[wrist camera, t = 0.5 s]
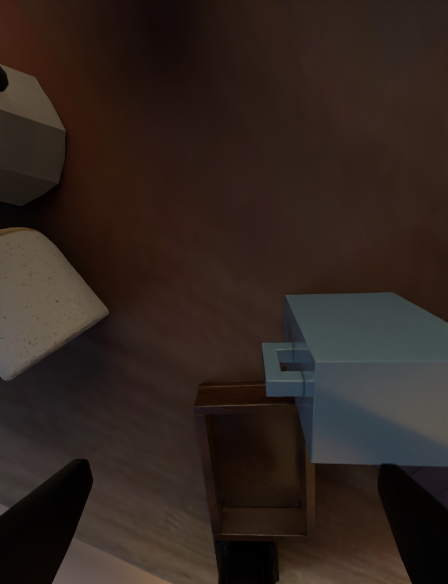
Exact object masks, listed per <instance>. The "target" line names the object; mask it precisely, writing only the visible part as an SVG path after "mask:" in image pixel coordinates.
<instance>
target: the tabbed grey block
mask: <svg viewBox="0 0 448 584" xmlns="http://www.w3.org/2000/svg"><path fill="white" fill-rule="evenodd" d="M262 360H263V370H264V379H265V389H266V396H267V397H283V396H294V398H295V402H296V406H297V410H298V414H299V418H300V422H301V425H302V429H303V433H304V437H305V441H306V445H307V449H308V453H309V457H310V461H311V463H322V464H359V465H380V464H381V463H394V464H396V465H398V466H433V467H448V323H447V322H446V321H444V320H442V319H440V318H438V317H436V316H435V315H433V314H431V313H429V312H427V311H426V310H424V309H422V308H420V307H418V306H417V305H415V304H413V303H411V302H409V301H408V300H406V299H404V298H402V297H400V296H399V295H397V294H395V293H393V292H382V293H344V294H305V295H285V343H262ZM279 362H285V363H286V367H287V371H281V368H280V364H279Z"/></svg>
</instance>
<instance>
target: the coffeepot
mask: <svg viewBox="0 0 448 584" xmlns="http://www.w3.org/2000/svg"><path fill="white" fill-rule="evenodd" d="M65 135H66V130H65V128H64V126H63V124H62V122H61V120H60V118H59V116H58V114H57V112H56V110H55V107H54V106H53V104H52V103H51V101H50V100H49V98H48V97H47V95H46V94H45V93H44V92H43V90H42V88H41V86H40V85H39V83H38V81H37V79H36V78H35V77H32V76H30V75H27V74H25V73H22V72H19V71H17V70H14V69H11V68H9V67H6V66H4V65H1V64H0V201H1V202H5V203H9V204H14V205H18V206H23V205H25V204H27V203H28V202H30V201H32V200H34V199H36V198H38V197H40V196H42V195H44V194H45V193H46V192H47V191H49V190H50V189H51V188H52V187H54V186H55V185H57V184H59V180H60V176H61V173H62V169H63V165H64V161H65V148H66V145H65Z"/></svg>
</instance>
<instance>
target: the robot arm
mask: <svg viewBox="0 0 448 584" xmlns="http://www.w3.org/2000/svg"><path fill="white" fill-rule="evenodd" d="M92 484H93V477H92V473H91V469H90V465H89V462H88V460H87V459H75V460H73V461H71V462H70V463H69V464H67V465H66V466H65V467H63V468H62V469H61V470H59V471H58V472H57V473H56V474H54V475H53V476H52V477H50V478H49V479H48V480H46V481H45V482H44V483H43V484H41V485H40V486H39V487H37V488H36V489H35V490H33V491H32V492H31V493H29V494H28V495H27V496H26V497H24V498H23V499H22V500H20V501H19V502H18V503H16V504H15V505H14V506H13V507H11V508H10V509H9V510H7V511H6V512H5V513H4V514H2V515H1V516H0V584H52V582H53V580H54V578H55V575H56V573H57V571H58V569H59V567H60V565H61V563H62V561H63V559H64V557H65V554H66V552H67V550H68V548H69V545H70V543H71V541H72V538H73V536H74V533H75V530H76V528H77V525H78V522H79V520H80V517H81V515H82V512H83V509H84V507H85V504H86V501H87V499H88V496H89V493H90V491H91V488H92ZM378 492H379V495H380V498H381V501H382V504H383V507H384V510H385V513H386V516H387V519H388V521H389V524H390V527H391V530H392V533H393V536H394V539H395V542H396V545H397V548H398V551H399V553H400V556H401V559H402V561H403V564H404V566H405V568H406V571H407V573H408V575H409V578H410V580H411V582H412V584H448V508H447V507H446V506H445V505H444V504H442V503H441V502H440V501H439V500H438V499H437V498H435V497H434V496H433V495H432V494H431V493H430V492H428V491H427V490H426V489H425V488H424V487H423V486H421V485H420V484H419V483H418V482H417V481H416V480H414V479H413V478H412V477H411V476H410V475H409V474H407V473H406V472H405V471H404V470H403V469H402V468H400V467H399V466H398V465H396V464H394V463H381V464H380V467H379V475H378ZM214 547H215V553H216V560H217V567H218V574H219V578H218V584H276V582H278V581H279V571H278V554H277V542H266V541H219V540H214Z"/></svg>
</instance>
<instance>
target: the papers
mask: <svg viewBox="0 0 448 584" xmlns="http://www.w3.org/2000/svg"><path fill="white" fill-rule="evenodd" d="M370 466H372V467H374V468H376V469H378V470H379V467H380V465H370ZM399 467H400V468H402V469H403V470H404V471H405V472H406V473H407V474H409V475H410V476H411V477H412V478H413V479H414V480H416V481H417V482H418V483H419V484H420V485H421V486H423V487H424V488H425V489H426V490H427V491H428V492H430V493H431V494H432V495H433V496H434V497H435V498H437V499H438V500H439V501H440V502H441V503H442V504H444V505H445V506H446V507H447V508H448V467H433V466H399Z"/></svg>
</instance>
